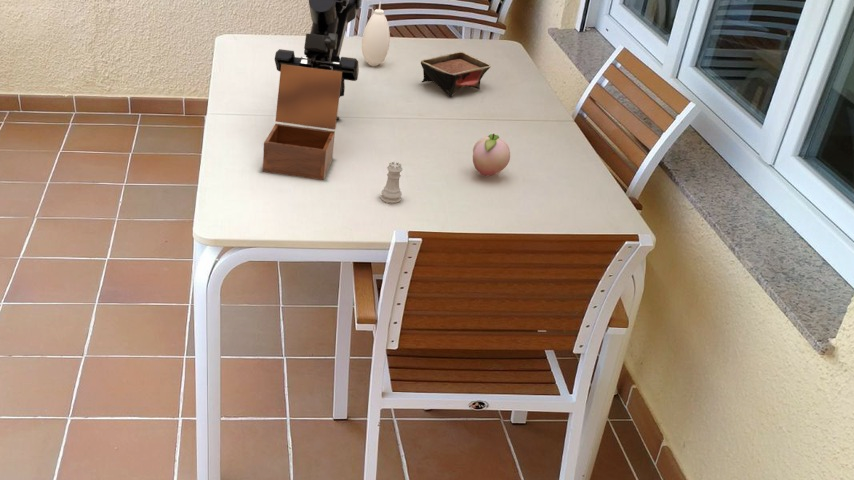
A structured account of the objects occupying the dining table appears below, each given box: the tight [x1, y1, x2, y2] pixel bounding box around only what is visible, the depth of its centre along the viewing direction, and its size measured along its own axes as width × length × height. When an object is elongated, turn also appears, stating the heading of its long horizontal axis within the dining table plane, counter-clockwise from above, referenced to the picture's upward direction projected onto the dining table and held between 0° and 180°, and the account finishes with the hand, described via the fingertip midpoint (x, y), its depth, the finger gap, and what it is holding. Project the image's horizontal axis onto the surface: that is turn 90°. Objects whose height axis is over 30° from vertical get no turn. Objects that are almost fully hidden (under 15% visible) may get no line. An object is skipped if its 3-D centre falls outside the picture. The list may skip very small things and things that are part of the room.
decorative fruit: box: [472, 133, 511, 177], centre depth 214 cm, size 9×8×10 cm
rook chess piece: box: [380, 161, 403, 205], centre depth 202 cm, size 4×4×8 cm
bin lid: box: [275, 64, 342, 130], centre depth 214 cm, size 12×14×1 cm
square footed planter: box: [420, 51, 492, 98], centre depth 263 cm, size 14×18×10 cm
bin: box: [262, 123, 336, 181], centre depth 214 cm, size 12×14×7 cm
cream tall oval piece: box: [361, 0, 391, 67], centre depth 272 cm, size 8×8×18 cm
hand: (310, 99), depth 217 cm, fingers closed
